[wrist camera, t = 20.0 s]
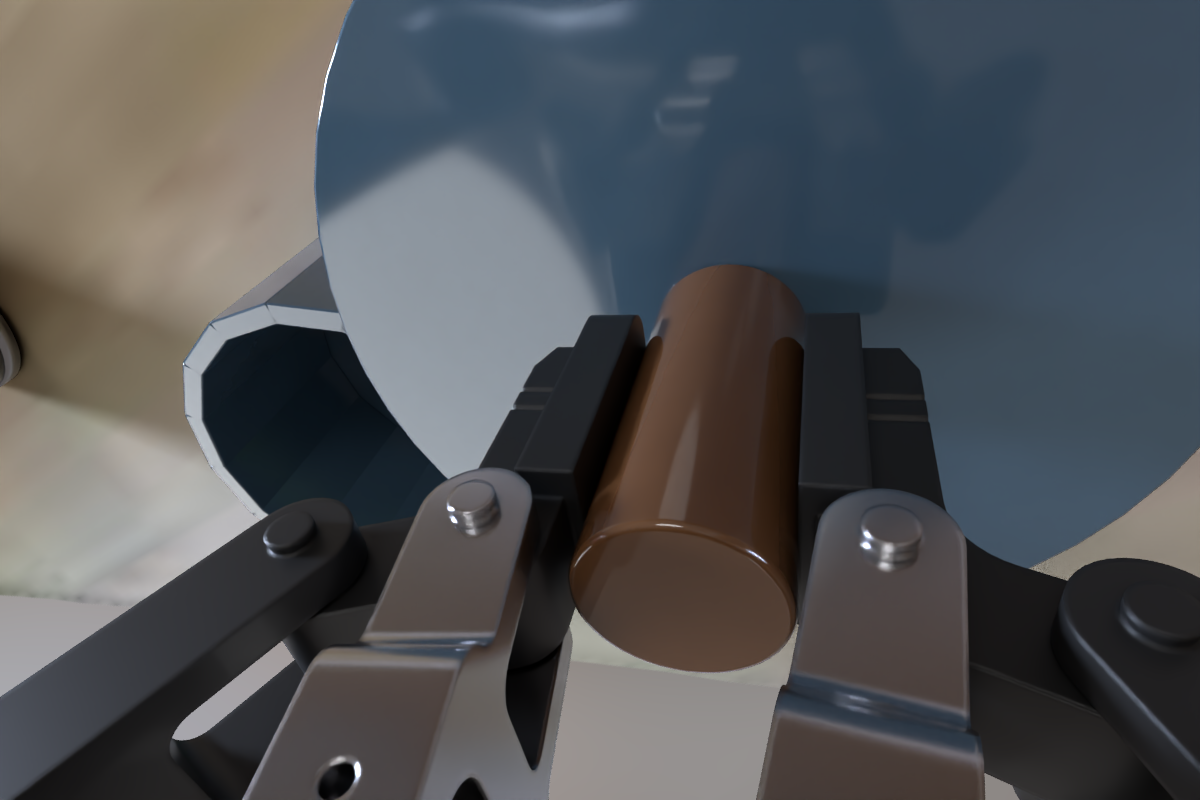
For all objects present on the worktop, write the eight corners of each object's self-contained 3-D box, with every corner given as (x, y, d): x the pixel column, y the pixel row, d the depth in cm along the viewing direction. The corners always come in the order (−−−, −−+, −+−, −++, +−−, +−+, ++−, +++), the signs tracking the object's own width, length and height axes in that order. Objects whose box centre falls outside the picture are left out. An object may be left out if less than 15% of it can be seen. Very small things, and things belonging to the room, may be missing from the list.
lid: (312, 402, 17) (88, 647, 12) (441, -545, 8) (-371, -1365, 2) (865, 654, 18) (882, 991, 12) (1614, 70, 8) (2928, 453, 3)
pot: (299, 384, 37) (186, 500, 31) (326, 143, 28) (176, 234, 22) (539, 494, 38) (478, 631, 31) (638, 292, 29) (582, 424, 22)
